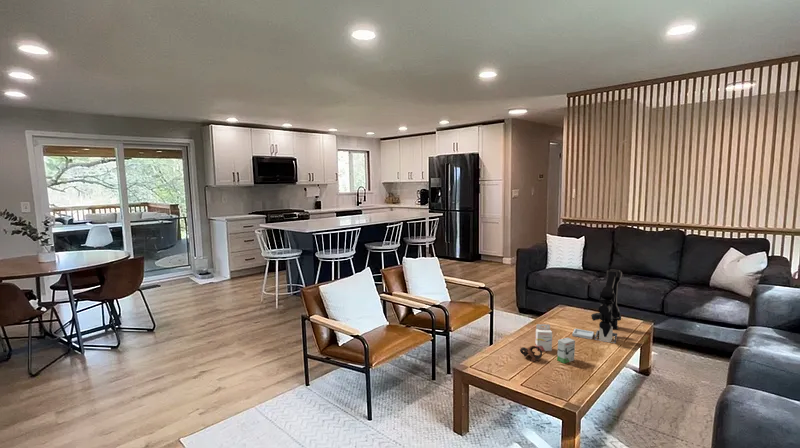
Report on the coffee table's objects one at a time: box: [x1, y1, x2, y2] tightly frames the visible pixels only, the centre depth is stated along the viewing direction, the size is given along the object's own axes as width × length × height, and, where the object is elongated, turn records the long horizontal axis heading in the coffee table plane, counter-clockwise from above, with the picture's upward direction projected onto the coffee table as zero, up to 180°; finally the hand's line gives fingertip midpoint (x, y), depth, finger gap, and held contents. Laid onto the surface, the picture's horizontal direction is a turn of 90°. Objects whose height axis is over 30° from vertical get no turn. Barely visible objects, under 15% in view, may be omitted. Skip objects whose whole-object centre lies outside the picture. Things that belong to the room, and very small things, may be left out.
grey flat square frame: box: [594, 329, 618, 344], centre depth 255 cm, size 12×12×2 cm
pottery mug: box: [519, 345, 543, 363], centre depth 228 cm, size 12×10×8 cm
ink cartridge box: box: [534, 323, 553, 352], centre depth 240 cm, size 9×5×15 cm, turn 84°
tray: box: [571, 328, 595, 340], centre depth 260 cm, size 10×12×2 cm
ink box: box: [556, 337, 576, 364], centre depth 225 cm, size 9×5×12 cm, turn 117°
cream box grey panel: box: [598, 326, 614, 342], centre depth 253 cm, size 5×7×9 cm
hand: (605, 334), depth 253 cm, fingers open, 9 cm apart
